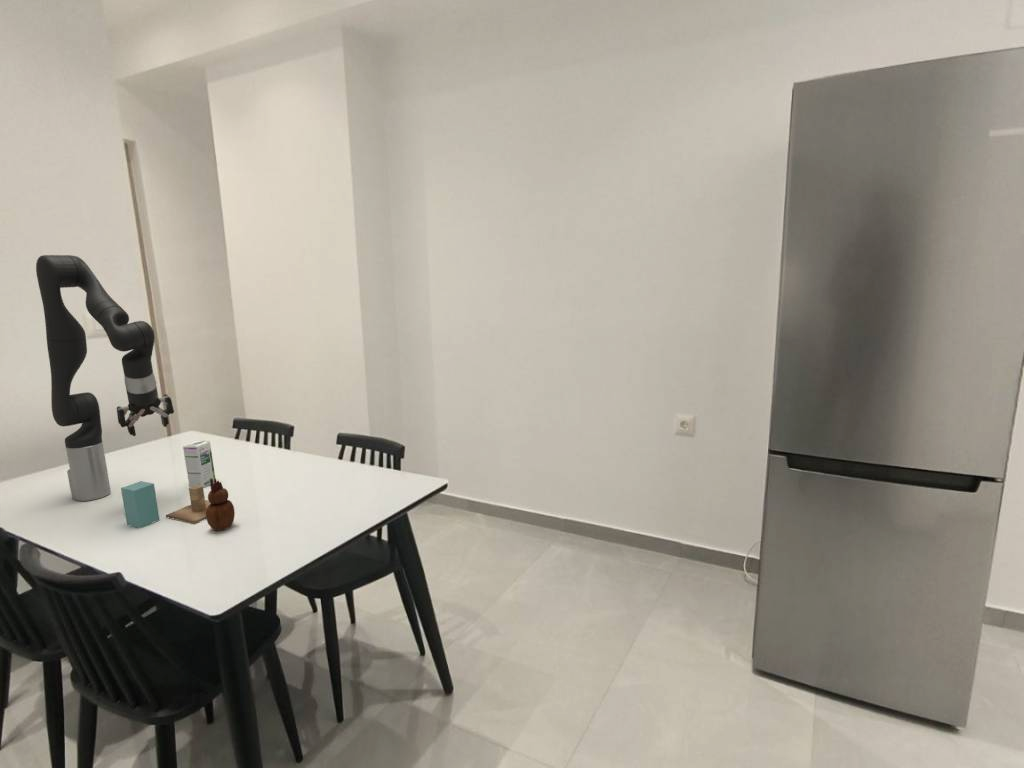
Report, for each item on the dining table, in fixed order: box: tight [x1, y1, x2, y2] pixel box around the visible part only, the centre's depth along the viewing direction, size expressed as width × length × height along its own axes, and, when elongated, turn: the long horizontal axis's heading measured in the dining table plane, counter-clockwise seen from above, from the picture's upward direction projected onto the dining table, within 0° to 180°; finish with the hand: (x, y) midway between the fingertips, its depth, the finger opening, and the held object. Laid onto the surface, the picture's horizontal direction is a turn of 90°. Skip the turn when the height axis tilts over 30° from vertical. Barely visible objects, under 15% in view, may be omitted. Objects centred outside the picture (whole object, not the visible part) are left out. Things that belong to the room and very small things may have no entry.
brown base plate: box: [165, 485, 211, 525], centre depth 163 cm, size 12×12×8 cm
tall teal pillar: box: [120, 480, 160, 529], centre depth 157 cm, size 6×6×11 cm
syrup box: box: [182, 440, 216, 489], centre depth 185 cm, size 6×6×14 cm
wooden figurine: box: [205, 477, 235, 532], centre depth 152 cm, size 7×6×15 cm
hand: (149, 430), depth 172 cm, fingers open, 8 cm apart
